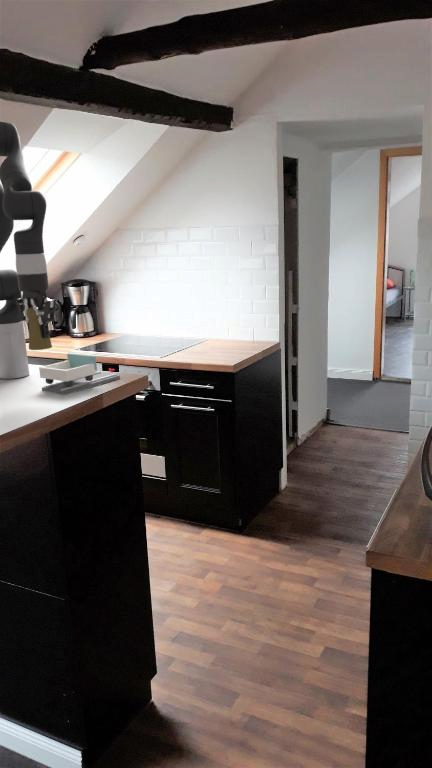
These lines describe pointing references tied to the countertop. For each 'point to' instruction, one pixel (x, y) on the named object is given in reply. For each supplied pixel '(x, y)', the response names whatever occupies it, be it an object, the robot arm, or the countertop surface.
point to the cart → (70, 369)
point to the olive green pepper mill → (36, 332)
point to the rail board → (80, 383)
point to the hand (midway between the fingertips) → (39, 337)
